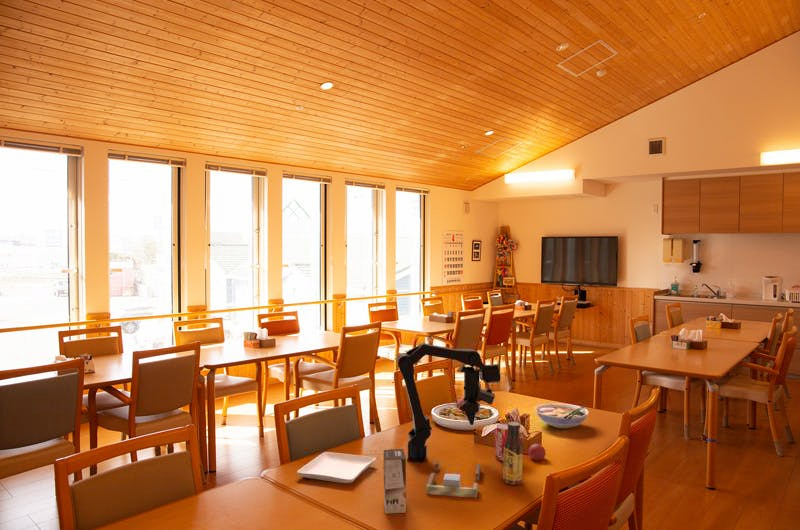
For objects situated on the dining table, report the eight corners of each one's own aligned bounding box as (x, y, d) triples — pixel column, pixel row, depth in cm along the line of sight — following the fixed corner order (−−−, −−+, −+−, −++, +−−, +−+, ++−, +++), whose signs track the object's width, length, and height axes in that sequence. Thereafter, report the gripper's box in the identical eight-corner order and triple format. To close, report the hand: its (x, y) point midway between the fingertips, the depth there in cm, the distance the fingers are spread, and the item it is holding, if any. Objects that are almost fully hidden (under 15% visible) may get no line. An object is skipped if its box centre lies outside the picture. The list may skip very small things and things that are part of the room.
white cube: (443, 493, 183) (443, 479, 182) (445, 487, 187) (445, 473, 187) (459, 494, 182) (459, 480, 181) (460, 488, 186) (460, 474, 186)
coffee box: (406, 513, 168) (406, 459, 168) (384, 514, 168) (384, 459, 168) (403, 499, 178) (403, 448, 177) (383, 500, 177) (382, 449, 177)
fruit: (527, 462, 214) (520, 446, 211) (536, 452, 217) (529, 436, 214) (541, 467, 209) (534, 451, 206) (549, 456, 212) (542, 440, 210)
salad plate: (295, 480, 194) (295, 470, 194) (324, 459, 214) (324, 450, 214) (352, 489, 187) (352, 479, 186) (377, 466, 206) (377, 457, 206)
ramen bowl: (547, 415, 268) (547, 398, 268) (596, 424, 255) (596, 405, 255) (525, 429, 248) (525, 410, 248) (577, 439, 235) (577, 419, 234)
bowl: (503, 432, 245) (503, 414, 244) (433, 432, 245) (433, 414, 244) (492, 413, 275) (492, 396, 274) (430, 413, 275) (429, 396, 274)
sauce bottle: (499, 480, 192) (499, 421, 192) (515, 477, 195) (515, 419, 194) (510, 487, 186) (510, 426, 186) (526, 484, 189) (526, 424, 188)
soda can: (514, 462, 209) (514, 429, 208) (494, 461, 210) (494, 428, 210) (514, 455, 216) (514, 424, 215) (495, 454, 217) (495, 423, 217)
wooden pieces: (426, 493, 182) (426, 486, 182) (435, 468, 204) (435, 461, 204) (476, 497, 179) (476, 489, 179) (480, 471, 201) (480, 464, 201)
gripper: (492, 389, 204) (492, 433, 204) (494, 378, 222) (494, 418, 222) (461, 388, 206) (461, 431, 206) (465, 377, 224) (465, 417, 225)
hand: (471, 424), depth 215 cm, fingers closed
